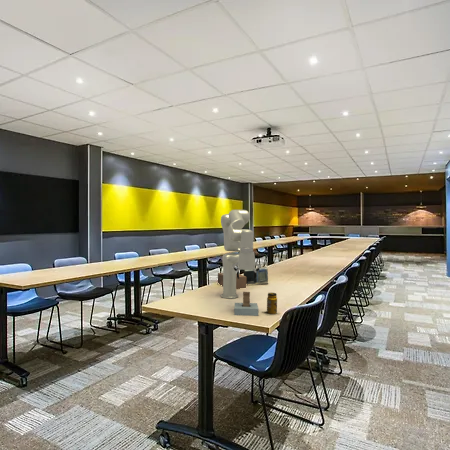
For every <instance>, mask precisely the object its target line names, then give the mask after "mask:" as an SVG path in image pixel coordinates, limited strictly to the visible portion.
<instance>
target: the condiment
mask: <svg viewBox="0 0 450 450" xmlns="http://www.w3.org/2000/svg"><path fill="white" fill-rule="evenodd" d="M261 313H263V314H264V315H266V316H272V315H275V316H276V315H280V313H279V312H278V297H277V292H268V293H267V297H266V310H265V311H261Z"/></svg>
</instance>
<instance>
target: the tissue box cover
mask: <svg viewBox="0 0 450 450" xmlns="http://www.w3.org/2000/svg"><path fill="white" fill-rule="evenodd" d="M218 283H219V284H220V285H219V286H221V285H222V286H221V287H223V272H218V273H217V284H218ZM240 288H246V289H247V285H246V276H244V274H243V275H242V274H240V273H239V279H238V277H237V272H236V290H241V289H240Z"/></svg>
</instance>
